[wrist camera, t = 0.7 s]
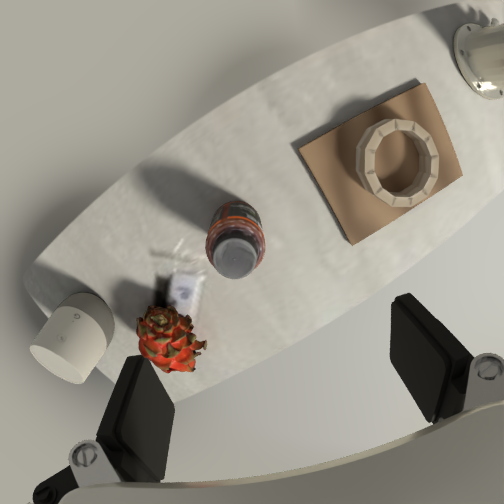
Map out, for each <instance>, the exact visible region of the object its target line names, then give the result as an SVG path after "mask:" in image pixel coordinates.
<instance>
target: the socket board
mask: <svg viewBox="0 0 504 504" xmlns="http://www.w3.org/2000/svg"><path fill="white" fill-rule="evenodd" d="M298 150H299V152H300V154H301V155H302V157H303V159H304V160H305V162H306V164H307V165H308V167H309V169H310V171H311V172H312V174H313V176H314V178H315V179H316V181H317V183H318V185H319V186H320V188H321V190H322V192H323V193H324V195H325V197H326V199H327V201H328V203H329V204H330V206H331V208H332V210H333V212H334V214H335V216H336V217H337V219H338V221H339V223H340V225H341V227H342V229H343V231H344V233H345V235H346V237H347V239H348V241H349V242H350V244H351V245H352V246H353V245H355V244H356V243H358V242H360V241H361V240H363V239H365V238H366V237H368V236H369V235H371V234H373V233H374V232H376V231H378V230H379V229H381V228H382V227H384V226H386V225H387V224H389V223H390V222H392V221H394V220H395V219H397V218H398V217H400V216H402V215H403V214H405V213H406V212H408V211H409V210H411V209H413V208H414V207H416V206H417V205H419V204H420V203H422V202H423V201H425V200H426V199H428V198H430V197H431V196H433V195H434V194H436V193H437V192H439V191H440V190H442V189H443V188H445V187H446V186H448V185H449V184H451V183H452V182H454V181H455V180H457V179H458V178H460V177H461V176H463V174H462V171H461V168H460V165H459V162H458V159H457V156H456V153H455V151H454V148H453V145H452V142H451V140H450V137H449V135H448V132H447V130H446V127H445V125H444V122H443V120H442V118H441V115H440V113H439V111H438V109H437V107H436V104H435V102H434V100H433V98H432V96H431V94H430V92H429V90H428V88H427V86H426V84H425V83H422V84H419V85H417V86H415V87H413V88H411V89H409V90H407V91H405V92H403V93H401V94H399V95H397V96H395V97H393V98H391V99H389V100H387V101H385V102H383V103H381V104H379V105H377V106H375V107H373V108H371V109H369V110H367V111H365V112H363V113H362V114H360V115H358V116H356V117H354V118H352V119H350V120H348V121H347V122H345V123H343V124H341V125H339V126H337V127H336V128H334V129H332V130H330V131H328V132H327V133H325V134H323V135H321V136H319V137H318V138H316V139H314V140H312V141H311V142H309V143H307V144H305V145H304V146H302V147H300V148H298Z"/></svg>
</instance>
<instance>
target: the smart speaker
mask: <svg viewBox="0 0 504 504" xmlns="http://www.w3.org/2000/svg"><path fill="white" fill-rule="evenodd" d="M113 334H114V318H113V315H112V312H111V310H110V309H109V307H108V306H107V305H106V304H105V302H103V301H102V300H101V299H100V298H98V297H97V296H95V295H93V294H90V293H76V294H73V295H71V296H69V297H68V298H66V299H65V300H64V301H63V302H62V303H61V304H60V305H59V306H58V307H57V309H56V310H55V311H54V312H53V314H52V315H51V317H50V318H49V319H48V321H47V322H46V324H45V325H44V327H43V328H42V330H41V331H40V332H39V334H38V335H37V337H36V338H35V340H34V341H33V343H32V345H31V346H30V351H31V353H32V355H33V356H34V357H35V358H36V360H37V361H38V362H39V363H40V364H41V365H43V366H44V367H45V368H46V369H48V370H49V371H50V372H52V373H53V374H55V375H57V376H58V377H60V378H62V379H64V380H67V381H69V382H72V383H76V384H81V383H83V382H84V381H85V380H86V378H87V376H88V375H89V374H90V372H91V371H92V369H93V368H94V366H95V365H96V364H97V362H98V361H99V359H100V358H101V356H102V355H103V354H104V352H105V351H106V349H107V347H108V346H109V344H110V342H111V340H112V337H113Z"/></svg>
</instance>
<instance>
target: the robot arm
mask: <svg viewBox="0 0 504 504" xmlns="http://www.w3.org/2000/svg"><path fill="white" fill-rule="evenodd" d="M454 53H455V57H456V61H457V64H458V66H459V68H460V71H461V73H462V75H463V76H464V78H465V80H466V81H467V82H468V84H469V85H470V86H471V88H472V89H473V90H474V91H475V92H477V93H478V94H479V95H480V96H482V97H484V98H487V99H494V100H496V99H500V98H502V97H504V24H501V25H499V21H498V20H497V19H495V18H493V19H492V21H491V26H487V27H484V28H483V27H482V26H480V25H477V24H473V23H469V24H465V25H462V26H461V27H459V28H458V30H457V31H456V33H455V36H454ZM390 360H391V363H392V364H393V366H394V368H395V369H396V371H397V373H398V374H399V376H400V377H401V379H402V381H403V382H404V384H405V385H406V387H407V388H408V390H409V392H410V393H411V395H412V397H413V399H414V400H415V402H416V404H417V405H418V407H419V409H420V410H421V412H422V414H423V415H424V417H425V419H426V420H427V421H428V422H429V423H430V422H432V423H433V425H431V426H429V427H427V428H424V429H422V430H420V431H417V432H415V433H412V434H410V435H407V436H405V437H402V438H400V439H397V440H394V441H392V442H389V443H386V444H384V445H381V446H378V447H375V448H372V449H369V450H366V451H363V452H360V453H357V454H354V455H350V456H347V457H344V458H340V459H337V460H333V461H329V462H325V463H321V464H317V465H313V466H309V467H304V468H299V469H295V470H290V471H284V472H279V473H273V474H267V475H261V476H254V477H246V478H238V479H228V480H218V481H205V482H204V481H203V482H176V483H160V480H163V479H164V476H165V470H166V463H167V456H168V450H169V443H170V436H171V430H172V425H173V418H174V413H175V408H174V404H173V402H172V401H171V399H170V397H169V395H168V394H167V392H166V390H165V388H164V387H163V385H162V383H161V381H160V380H159V378H158V376H157V374H156V372H155V370H154V368H153V367H152V365H151V363H150V361H149V359H148V358H144V356H142V355H136V356H129V357H127V359H126V361H125V363H124V366H123V368H122V370H121V373H120V375H119V378H118V380H117V382H116V385H115V387H114V390H113V393H112V395H111V398H110V400H109V402H108V405H107V408H106V410H105V413H104V416H103V418H102V421H101V423H100V426H99V429H98V432H97V434H96V435H97V438H96V441H94V440H84V441H82V442H79V443H78V444H76V445H75V446H74V447H73V448H72V450H71V451H70V453H69V464H70V465H69V466H68V467H66V468H65V469H63V470H61V471H60V472H58V473H56V474H55V475H53V476H52V477H50V478H48V479H47V480H45V481H43V482H42V483H40V484H39V485H38V486H37V487H36V488H35V490H34V493H33V502H34V503H33V504H504V359H503V358H501V357H500V356H498V355H496V354H492V353H483V354H480V355H478V356H476V357H475V358H474V357H473V356H472V355H471V354H470V353H469V351H468V350H467V349H466V348H465V347H464V346H463V345H462V344H461V343H460V342H459V341H458V340H457V338H456V337H455V336H454V335H453V334H452V333H451V332H450V331H449V330H448V329H447V328H446V327H445V326H444V325H443V324H442V323H441V322H440V321H439V320H438V319H436V318H435V317H434V316H433V315H432V314H431V313H430V312H429V311H428V310H427V309H426V308H425V307H424V306H423V305H422V304H421V303H420V302H419V301H418V300H417V299H416V298H415V297H414V296H413V295H412V294H411V293H407V294H403V295H401V296H397V297H396V298H395V301H394V302H392V304H391V340H390ZM28 504H31V503H30V502H29V503H28Z"/></svg>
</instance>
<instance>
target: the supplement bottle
mask: <svg viewBox="0 0 504 504" xmlns="http://www.w3.org/2000/svg"><path fill="white" fill-rule="evenodd" d="M205 248H206V254H207V257H208V259H209V261H210V263H211V264H212V265H213V266H214V267H215V268H216V270H217V271H218V272H219V273H220V274H221V275H223V276H225V277H227V278H230V279H240V278H243V277H245V276H247V275H249V274H250V273H251V272H252V271H253V270H254V269H255V268H256V267H257V266H258V265H259V264H260V262H261V261H262V259H263V257H264V253H265V240H264V235H263V230H262V225H261V221H260V217H259V215H258V213H257V211H256V210H255V209H254V208H253V207H252V206H250V205H249V204H247V203H244V202H240V201H234V202H229V203H227V204H224V205H223V206H221V207H220V208H219V209H218V210H217V212H216V213H215V215H214V217H213V220H212V223H211V226H210V229H209V232H208V235H207V239H206V247H205Z"/></svg>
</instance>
